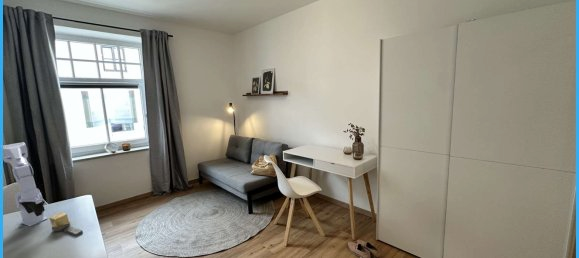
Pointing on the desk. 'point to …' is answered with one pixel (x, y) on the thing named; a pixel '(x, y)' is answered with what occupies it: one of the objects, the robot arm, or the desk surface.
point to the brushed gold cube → (59, 220)
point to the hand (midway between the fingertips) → (35, 213)
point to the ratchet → (68, 230)
